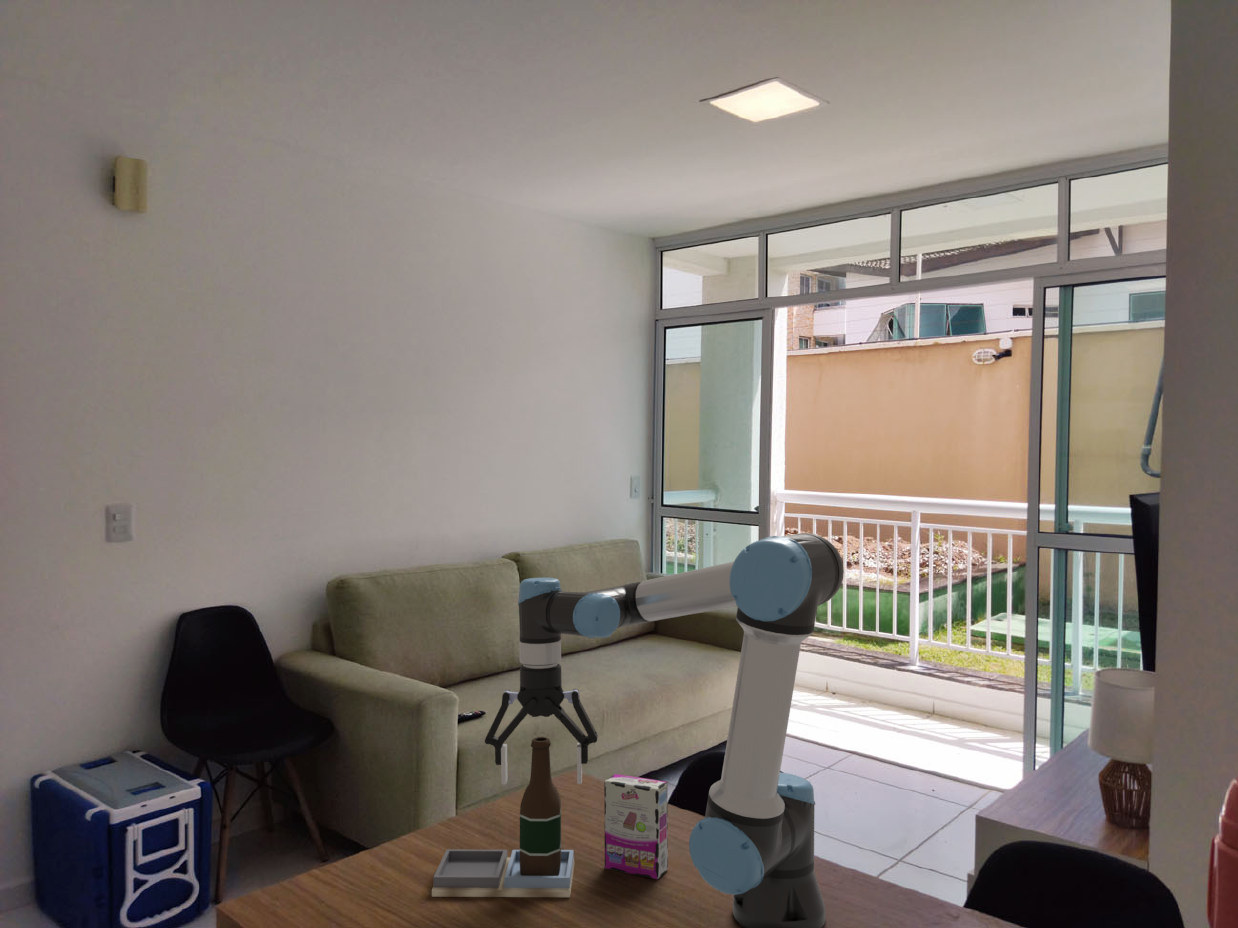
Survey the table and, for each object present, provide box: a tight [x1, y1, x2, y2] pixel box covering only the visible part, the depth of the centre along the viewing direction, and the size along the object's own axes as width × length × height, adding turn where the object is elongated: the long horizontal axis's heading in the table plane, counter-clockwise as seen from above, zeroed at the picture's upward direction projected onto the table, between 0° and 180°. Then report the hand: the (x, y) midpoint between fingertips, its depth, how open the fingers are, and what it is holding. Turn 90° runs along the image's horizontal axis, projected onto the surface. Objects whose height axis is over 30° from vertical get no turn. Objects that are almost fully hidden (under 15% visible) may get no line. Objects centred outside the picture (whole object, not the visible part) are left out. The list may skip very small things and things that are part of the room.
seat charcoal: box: [432, 848, 508, 888], centre depth 160 cm, size 11×11×2 cm
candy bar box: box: [603, 773, 669, 880], centre depth 164 cm, size 11×5×16 cm, turn 64°
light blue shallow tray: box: [504, 849, 575, 888], centre depth 160 cm, size 11×11×2 cm
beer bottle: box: [519, 736, 562, 876], centre depth 160 cm, size 8×8×24 cm
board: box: [431, 856, 575, 898], centre depth 160 cm, size 24×13×1 cm, turn 90°
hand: (542, 782), depth 160 cm, fingers open, 13 cm apart
